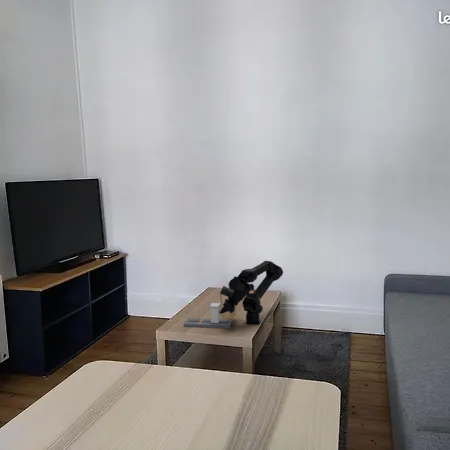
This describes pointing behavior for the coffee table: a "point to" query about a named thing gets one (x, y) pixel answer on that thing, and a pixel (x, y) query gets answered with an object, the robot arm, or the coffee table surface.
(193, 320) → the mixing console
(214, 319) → the fader knob
